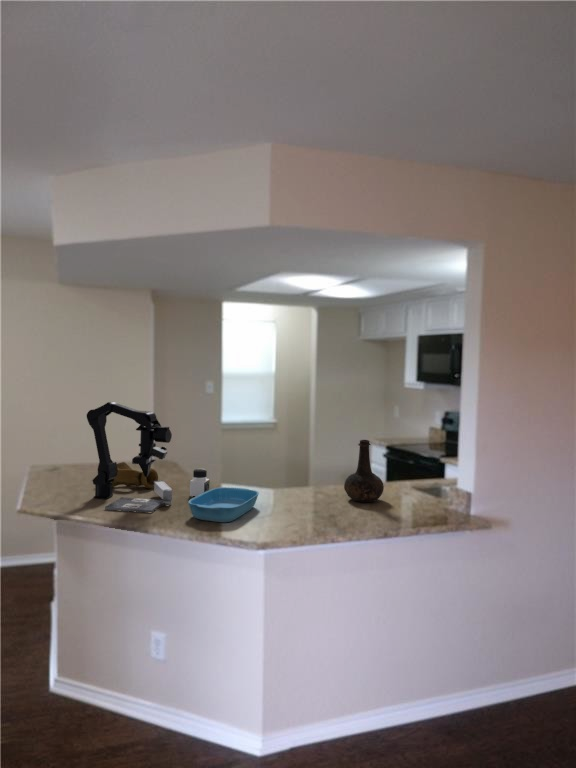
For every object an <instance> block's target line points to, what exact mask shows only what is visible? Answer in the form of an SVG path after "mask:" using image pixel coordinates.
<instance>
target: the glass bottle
mask: <svg viewBox="0 0 576 768" xmlns="http://www.w3.org/2000/svg"><path fill="white" fill-rule="evenodd" d="M371 445H372V444H371V443H370V440H369V439H360V440H359V443H357V446H359V452H358V462H357V467H356V471H355V472H354V473H351V474H350V475H349V476H348V477H347V478H346V479H345V480H344V484H343V488H344V491H345V493H346V495H347V496H348V497H349V498H350V499H352V500H353V501H355V502H359V503H372V502H376V501H377V500H378V499H379V498H380V497H381V496H382V495H383V492H384V487H385V486H384V482H383V480H382V479H381V478H380V477H379V476H378V475H377V474H375V473H374V472H373V471H372V468H371V461H370V446H371Z"/></svg>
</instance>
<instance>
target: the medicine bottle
mask: <svg viewBox="0 0 576 768" xmlns="http://www.w3.org/2000/svg"><path fill="white" fill-rule="evenodd" d="M207 471H208V470H207V469H205V468H195V469H193V471H192V472H193V475H192V476H193V477H192V479H191V480H189V497H193V496H198V495H200V494H202V493H204V492H206V491H209V490H210V478H207V476H208V475H207V473H208V472H207Z"/></svg>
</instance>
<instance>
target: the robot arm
mask: <svg viewBox="0 0 576 768" xmlns="http://www.w3.org/2000/svg"><path fill="white" fill-rule="evenodd" d="M112 413H113V414H117V415H120V416H122V417H125V418H128V419H131V420H133V421H135V423H137V424H138V427H136V428H135V431H140V439H139V440H140V442H139V443H138V447H140V449H139V452H138V455H135V456H134V457H133V458H132V460H131V462H132V463H131V464H132V465H138V466H139V468H140V469H141V472H143V474H144V476H145V477H148V474H149V471H150V468H152V465H153V463H155V462H156V459H154V458H153V457H156V458H157V459H159V460H163V459H165V458H166V456H167V454H168V450H167V446H165V445H163V446H161V447H158V446H157V444H156V443H165V444H169V443H171V441H172V438H173V437H172V435H173V434H172V431H171V430H170V426H162V425H161V423H160V422H159V420H158V419H157V418H158V417H157V415H156V413H155V412H152V411H147V410H137V409H135V408H131V407H128V406H127V405H123V404H121V403H117V402H115V401H109V402H106V403H105V404H103V405H100V406H98V407H96V408H94V409H89V410H88V412H87V413H86V419H87V422H88V423H87V424H89V426H90V427H91V429H92V431H93V434H94V441H95V445H96V450H97V455H98V456H97V457H98V461H99V463H98V466H97V474H96V476H95V477H94V478H93V479H92V480H91V481H92V483H93V485H94V487H95V490H94V496H93V497H92V498H94V499H103V500H104V499H106V500H107V499H109V498H111V497H112V496H114V494H113V490H114V487H113V486H112V483H110V482H113V481H114V478H115V477H116V476H117V471H118V469H117V464H118V463H117V461H113V460H112V458H111V454H110V447H109V443H108V439H107V434H106V433H107V432H106V426H107V425H106V424H107V422H108V421H107V416H109V415H111V414H112Z"/></svg>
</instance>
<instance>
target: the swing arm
mask: <svg viewBox="0 0 576 768" xmlns="http://www.w3.org/2000/svg"><path fill="white" fill-rule="evenodd" d="M153 491H154V493H156V495H158V496H159V497H160V498H161V500H165V501H169V500H171V501H172V500H173V489H172V488H171V487H170V486H169V485H168V484H167V483H166V482H165V481H164V480H158V481H154V488H153Z"/></svg>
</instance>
